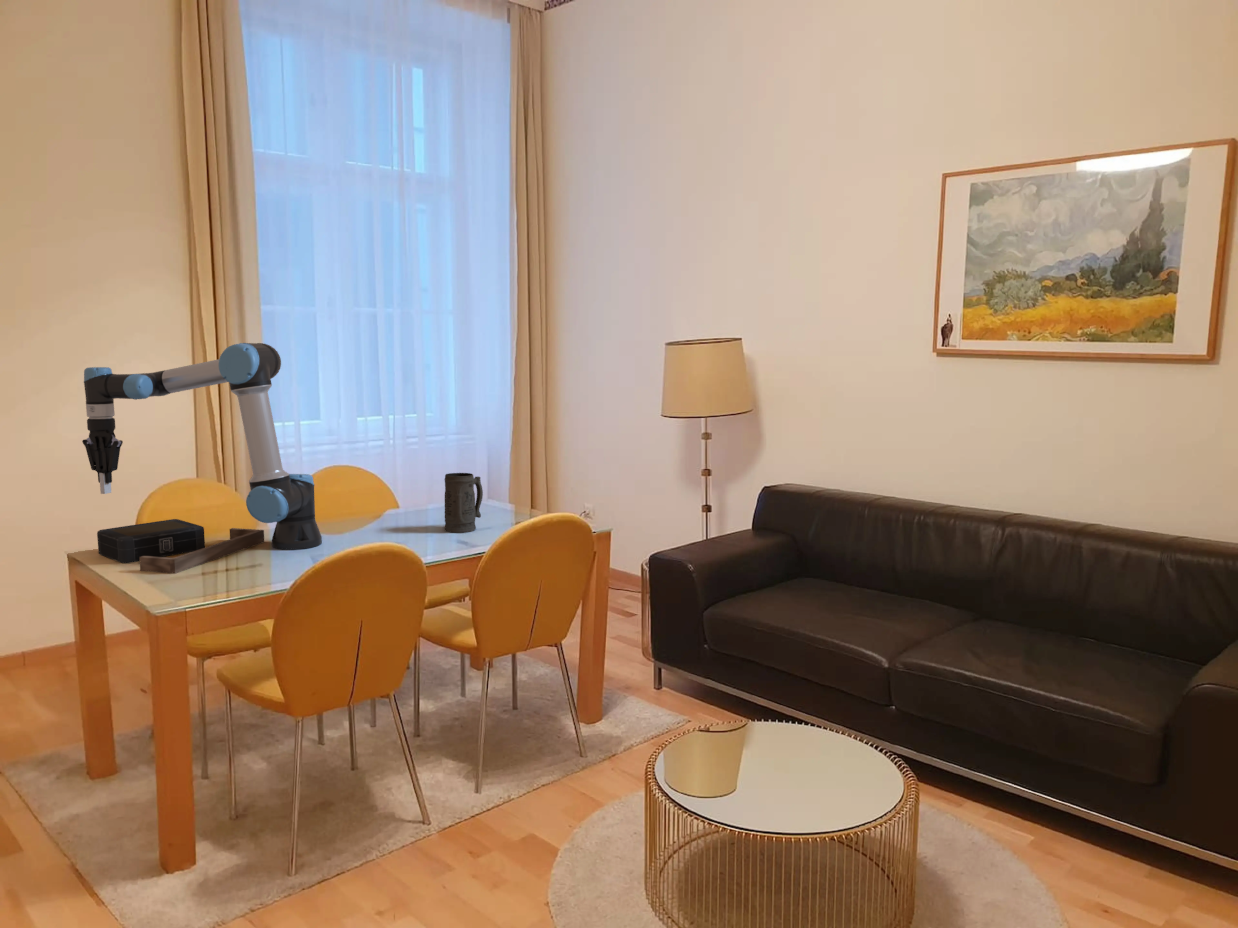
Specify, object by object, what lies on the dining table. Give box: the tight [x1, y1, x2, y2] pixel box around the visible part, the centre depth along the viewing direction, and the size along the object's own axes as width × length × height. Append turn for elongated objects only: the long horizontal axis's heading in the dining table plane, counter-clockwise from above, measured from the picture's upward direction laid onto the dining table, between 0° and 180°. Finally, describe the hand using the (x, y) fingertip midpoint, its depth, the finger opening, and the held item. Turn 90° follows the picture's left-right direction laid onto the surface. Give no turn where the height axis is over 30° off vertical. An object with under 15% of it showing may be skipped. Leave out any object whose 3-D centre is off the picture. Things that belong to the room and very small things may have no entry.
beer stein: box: [444, 472, 484, 534], centre depth 318 cm, size 15×11×20 cm
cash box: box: [96, 518, 206, 564], centre depth 283 cm, size 25×20×8 cm
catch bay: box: [139, 527, 265, 574], centre depth 278 cm, size 12×41×4 cm, turn 166°
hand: (106, 493), depth 284 cm, fingers closed
